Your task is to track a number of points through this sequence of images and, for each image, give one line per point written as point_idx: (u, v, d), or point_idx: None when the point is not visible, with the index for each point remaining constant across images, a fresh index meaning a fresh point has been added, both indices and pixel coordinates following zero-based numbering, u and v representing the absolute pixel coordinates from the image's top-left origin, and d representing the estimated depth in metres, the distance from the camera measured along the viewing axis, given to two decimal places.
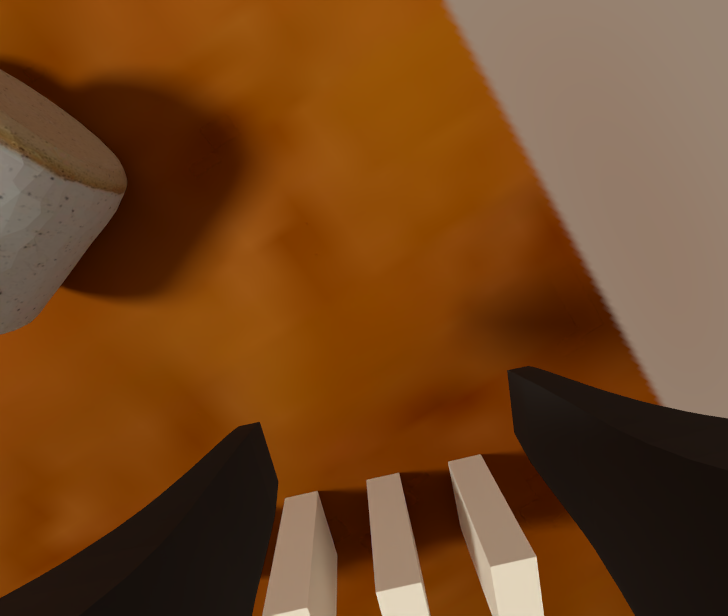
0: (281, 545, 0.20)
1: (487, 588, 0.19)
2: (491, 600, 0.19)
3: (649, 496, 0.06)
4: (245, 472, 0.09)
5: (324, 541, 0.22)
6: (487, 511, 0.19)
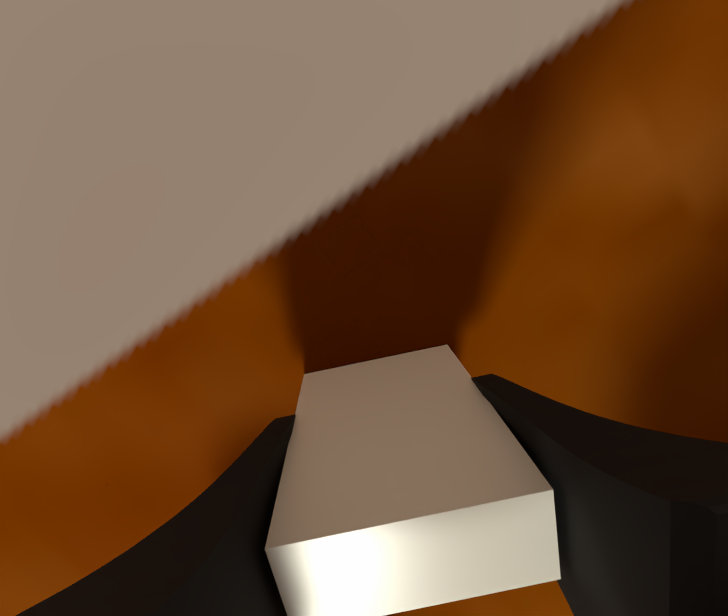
0: None
1: None
2: None
3: (583, 510, 0.06)
4: None
5: None
6: None
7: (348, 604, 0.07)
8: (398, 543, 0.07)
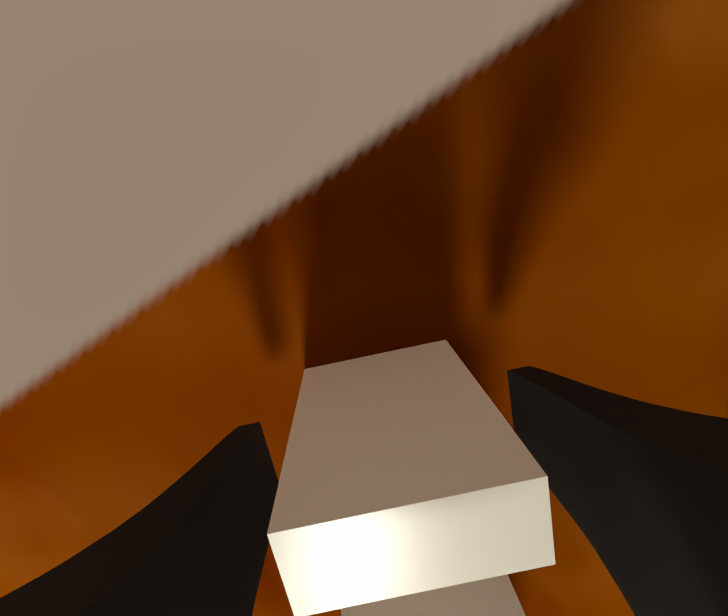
0: None
1: None
2: None
3: (649, 496, 0.06)
4: (245, 472, 0.09)
5: None
6: None
7: (348, 588, 0.07)
8: (397, 528, 0.07)
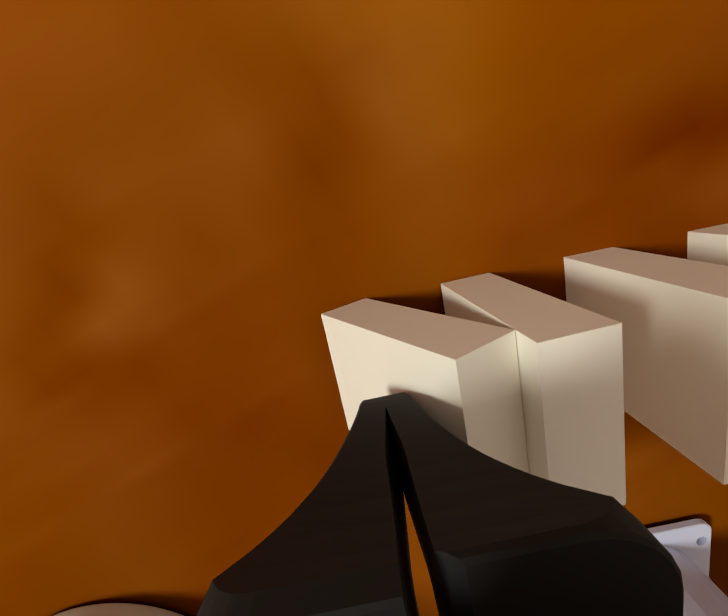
0: (483, 302, 0.12)
1: None
2: None
3: (426, 542, 0.06)
4: (390, 442, 0.09)
5: None
6: None
7: None
8: None
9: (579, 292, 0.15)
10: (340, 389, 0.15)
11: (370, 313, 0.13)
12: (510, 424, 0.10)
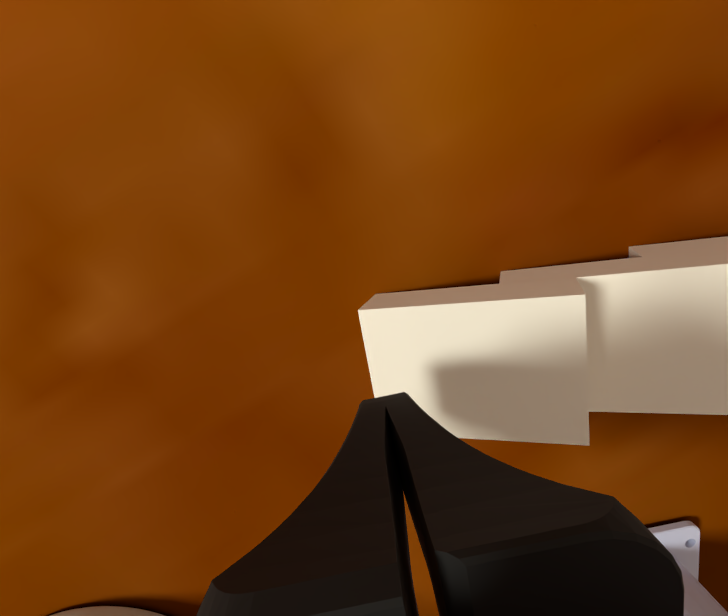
0: (611, 272, 0.13)
1: None
2: None
3: (427, 542, 0.06)
4: (390, 442, 0.09)
5: None
6: None
7: None
8: None
9: None
10: (376, 389, 0.14)
11: (418, 298, 0.14)
12: None
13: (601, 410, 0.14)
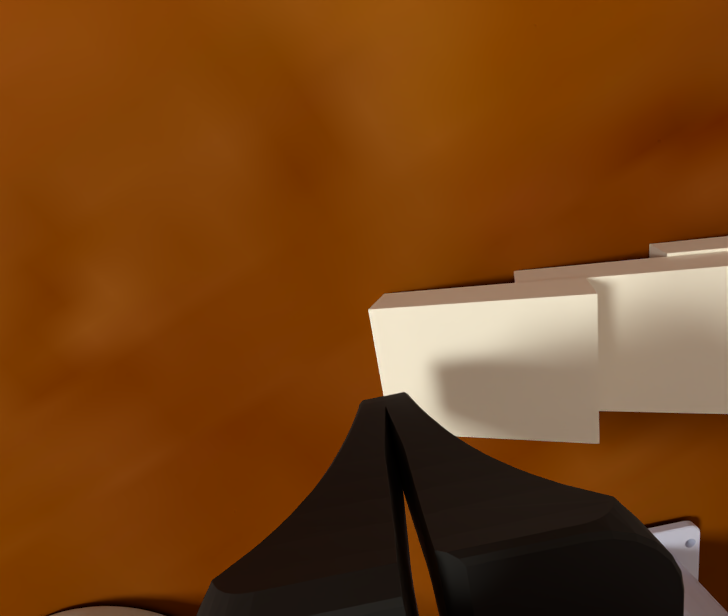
0: (627, 272, 0.13)
1: None
2: None
3: (427, 542, 0.06)
4: (390, 442, 0.09)
5: None
6: None
7: None
8: None
9: None
10: (385, 389, 0.14)
11: (428, 297, 0.14)
12: None
13: (614, 409, 0.14)
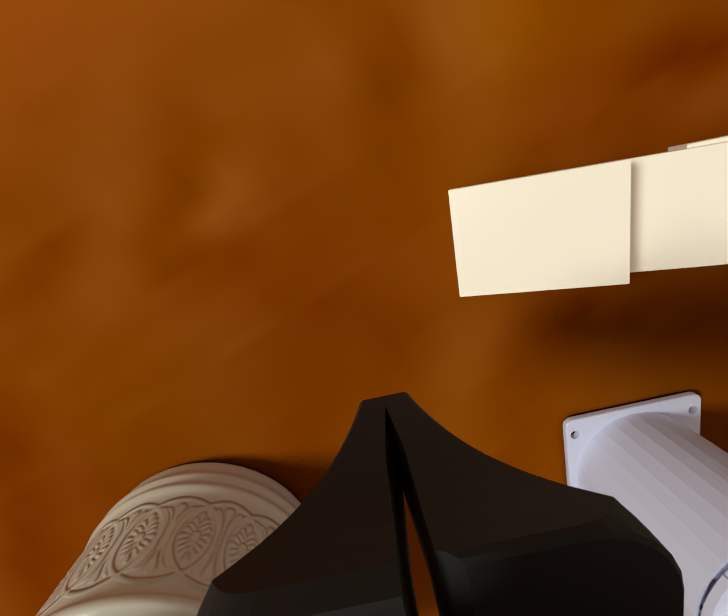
0: (654, 154, 0.17)
1: None
2: None
3: (427, 542, 0.06)
4: (390, 442, 0.09)
5: None
6: None
7: None
8: None
9: None
10: (458, 258, 0.18)
11: None
12: None
13: (642, 270, 0.18)
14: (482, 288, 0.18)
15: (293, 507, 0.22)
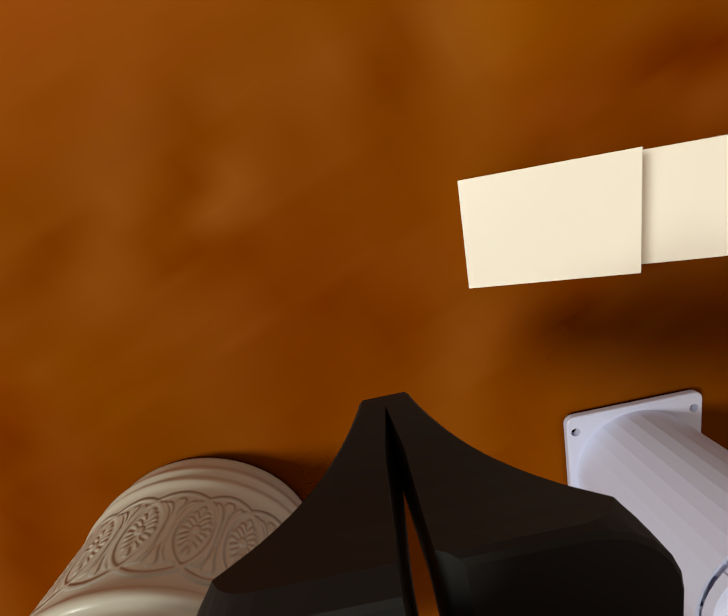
0: (667, 145, 0.17)
1: None
2: None
3: (426, 542, 0.06)
4: (390, 442, 0.09)
5: None
6: None
7: None
8: None
9: None
10: (468, 249, 0.18)
11: None
12: None
13: (655, 261, 0.18)
14: (491, 279, 0.18)
15: (293, 503, 0.22)
